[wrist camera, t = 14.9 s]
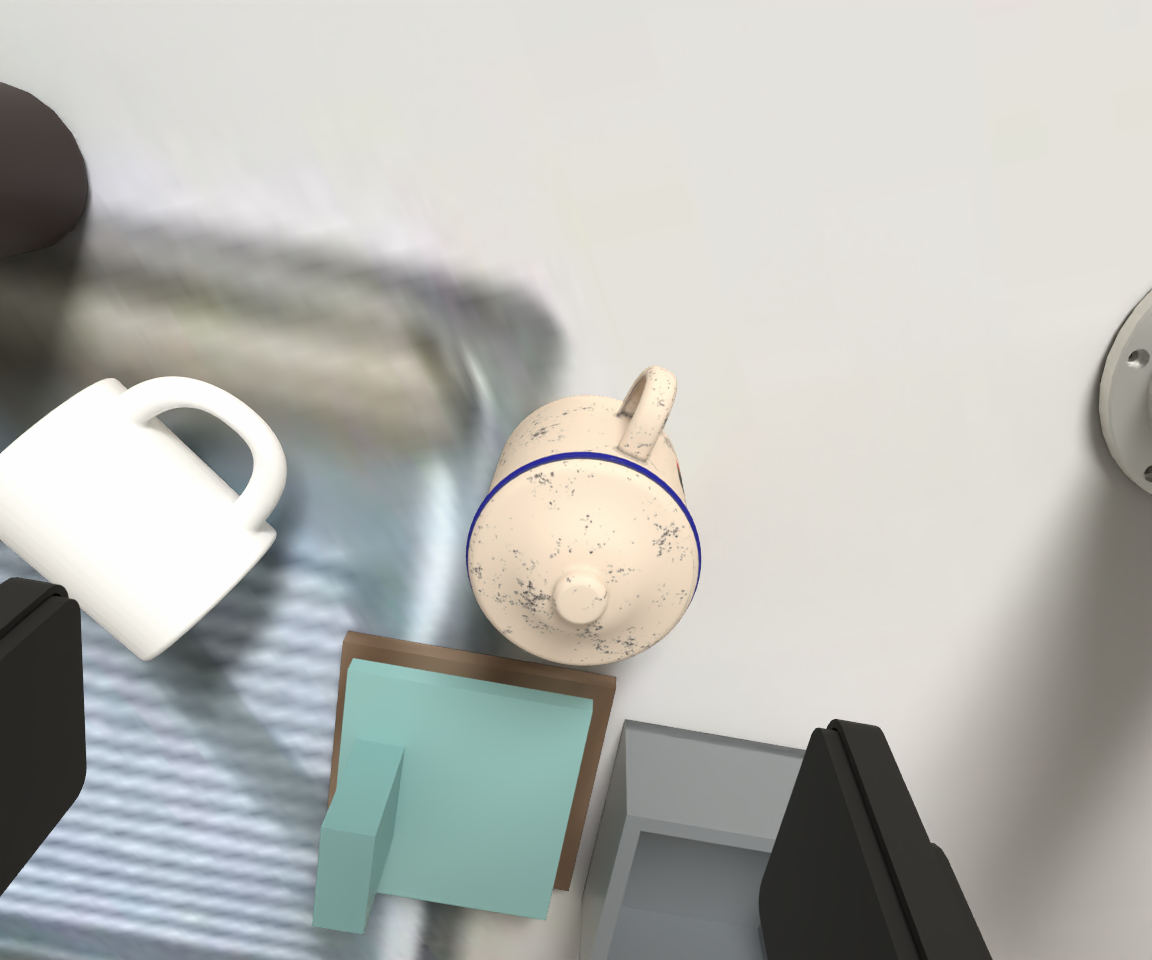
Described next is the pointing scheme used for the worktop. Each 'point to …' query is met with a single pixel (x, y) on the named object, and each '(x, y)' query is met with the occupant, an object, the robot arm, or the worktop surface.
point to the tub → (684, 846)
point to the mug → (138, 507)
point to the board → (503, 673)
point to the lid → (447, 794)
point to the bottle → (36, 174)
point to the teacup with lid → (587, 529)
